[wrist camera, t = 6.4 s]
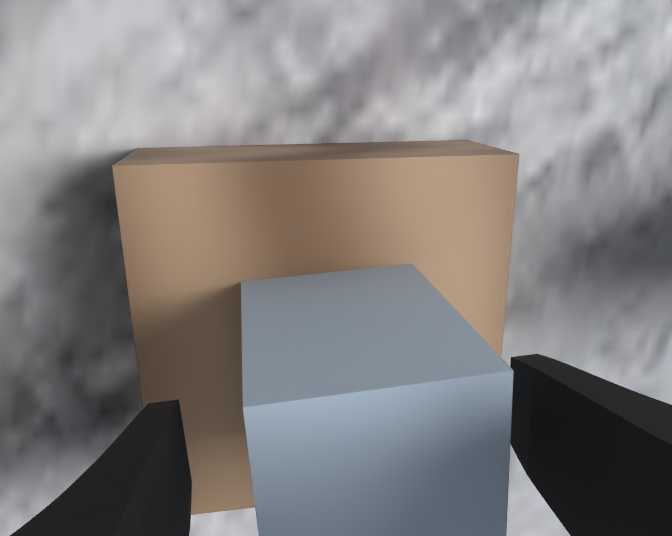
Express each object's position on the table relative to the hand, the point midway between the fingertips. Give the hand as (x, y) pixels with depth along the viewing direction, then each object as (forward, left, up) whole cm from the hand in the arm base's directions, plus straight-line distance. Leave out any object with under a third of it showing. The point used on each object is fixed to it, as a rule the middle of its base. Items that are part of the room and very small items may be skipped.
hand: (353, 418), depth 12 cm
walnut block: (0, 0, -8) cm, 8 cm away
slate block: (0, 0, -4) cm, 4 cm away
